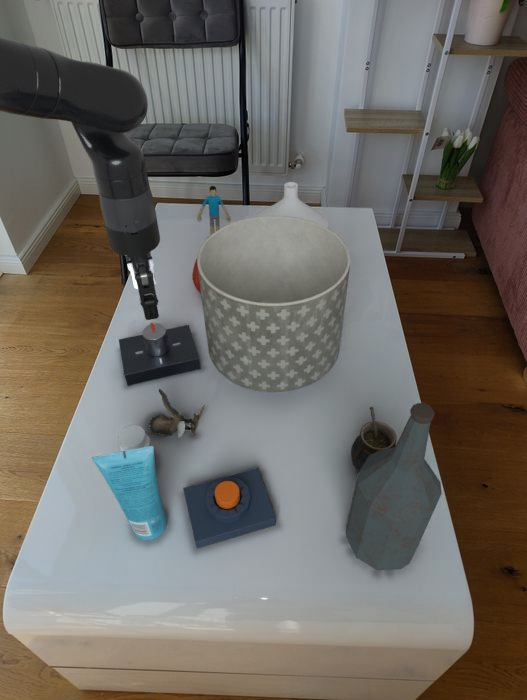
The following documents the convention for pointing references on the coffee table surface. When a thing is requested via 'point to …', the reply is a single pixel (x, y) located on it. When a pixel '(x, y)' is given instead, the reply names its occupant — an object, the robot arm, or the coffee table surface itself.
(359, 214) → the coffee table surface
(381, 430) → the mate gourd
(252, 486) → the button block
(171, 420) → the eagle figurine
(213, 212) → the figurine
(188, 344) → the dial panel
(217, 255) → the planter
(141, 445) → the pill bottle
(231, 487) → the button
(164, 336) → the program dial
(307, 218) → the vase
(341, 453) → the coffee table surface
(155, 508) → the tube
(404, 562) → the bottle
